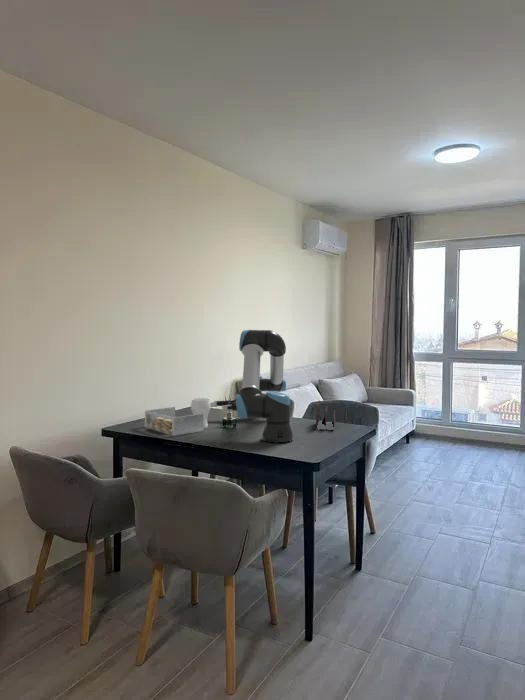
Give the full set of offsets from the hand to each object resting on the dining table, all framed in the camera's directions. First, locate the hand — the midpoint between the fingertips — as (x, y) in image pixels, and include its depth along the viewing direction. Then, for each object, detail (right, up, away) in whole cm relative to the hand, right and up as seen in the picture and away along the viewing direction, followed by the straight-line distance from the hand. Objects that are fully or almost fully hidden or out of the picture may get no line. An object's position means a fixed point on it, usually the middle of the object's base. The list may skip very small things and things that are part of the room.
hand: (214, 406), depth 281 cm
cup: (-7, -10, -6) cm, 14 cm away
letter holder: (+62, -11, -3) cm, 63 cm away
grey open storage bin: (-20, -11, -18) cm, 29 cm away
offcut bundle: (-24, -10, -22) cm, 34 cm away
